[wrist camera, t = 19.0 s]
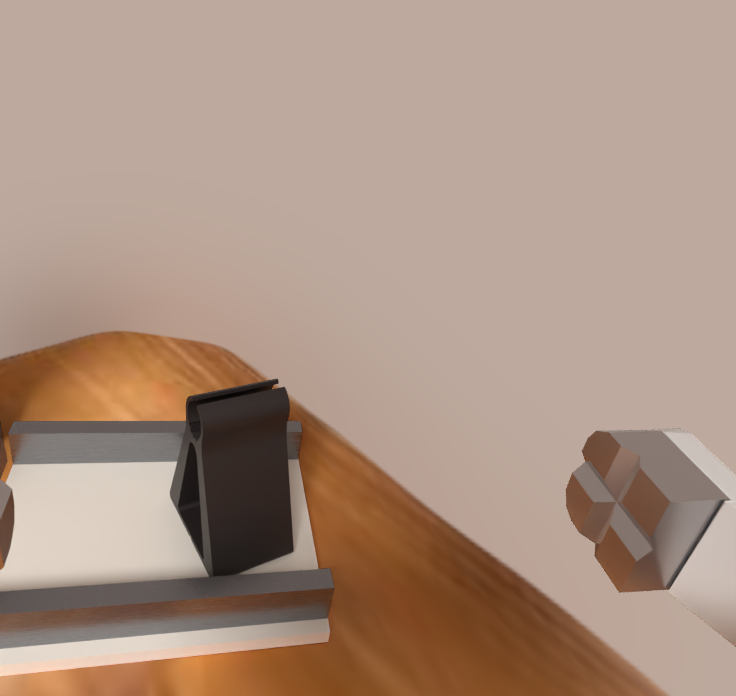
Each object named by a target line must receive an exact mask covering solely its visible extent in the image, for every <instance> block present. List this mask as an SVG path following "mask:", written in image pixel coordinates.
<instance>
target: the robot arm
mask: <svg viewBox="0 0 736 696" xmlns="http://www.w3.org/2000/svg"><path fill="white" fill-rule="evenodd" d="M582 453H583V456H584V459H585V463H583V464H582V465H581V466H580V467H579V468H578V469H576V470H575V471H574V472H573V473H572V475H571V478H570V480H569V483H568V485H567V488H566V506H567V509H568V512H569V515H570V518H571V521H572V522H573V524H574V525H575V527H576V528H577V530H578V531H579V533H581V534H582V535H584V536H585V537H587V538H588V539H589V540H591V541H592V542H594V543H595V544H596V545H595V557H596V559H597V560H598V562H599V563H600V564H601V566H602V568H603V569H604V571H605V572H606V573H607V575H608V576H609V578H610V579H611V581H612V582H613V584H614V585H615V587H616V588H617V590H618V591H619V592H637V591H653V590H668V589H669V591H668V593H669V594H670V595H672V596H673V597H674V598H675V599H677V600H678V601H679V602H680V603H682V604H683V605H684V606H685V607H687V608H688V609H689V610H690V611H692V612H693V613H694V614H695V615H697V616H698V617H699V618H700V619H702V620H703V621H704V622H705V623H707V624H708V625H709V626H710V627H712V628H713V629H714V630H715V631H717V632H718V633H719V634H720V635H722V636H723V637H724V638H725V639H727V640H728V641H729V642H730V643H732V644H733V645H734V646H735V647H736V475H735V474H734V473H733V472H732V471H731V470H730V469H728V467H727V466H726V465H724V464H723V463H722V462H721V461H720V460H719V459H718V458H717V457H716V456H715V455H714V454H713V453H712V452H711V451H710V450H708V449H707V448H706V447H705V446H704V445H703V444H702V443H701V442H700V441H699V440H698V439H697V438H696V437H694V435H692V434H691V433H689V432H687V431H685V430H682V429H680V428H676V429H675V428H674V429H652V430H624V431H623V430H621V431H620V430H619V431H596V432H594V433H593V434H592V435H591V436H590V437H589V438H588V439H587V441H586V443H585V446H584V448H583V450H582ZM6 463H7V456H6V451H5V447H4V442H3V439H2V438H1V437H0V478H1V476H2V473H3V471H4V468H5V466H6ZM13 529H14V498H13V492H12V488H10V487H9V486H8V485H7V484H5V483H4V482H3V481H2V480H0V570H1V569H2V568H4V565H5V562H6V559H7V556H8V553H9V550H10V547H11V541H12V535H13Z"/></svg>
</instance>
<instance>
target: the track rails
mask: <svg viewBox="0 0 736 696" xmlns="http://www.w3.org/2000/svg"><path fill="white" fill-rule="evenodd" d="M185 428H186V421H14V422H13V424H12V426H11V429H10V431H9V433H8V435H9V442H10V448H11V454H12V461H13V465H19V464H73V463H127V462H177V461H178V457H179V453H180V449H181V444H182V440H183V436H184V432H185ZM301 438H302V428H301V423H300V421H287V450H288V460H289V459H298V458H299V452H300V445H301ZM333 591H334V584H333V579H332V574H331V570H330V568H328V569H314V570H299V571H285V572H271V573H257V574H242V575H228V576H214V577H200V578H185V579H171V580H157V581H143V582H128V583H114V584H100V585H86V586H71V587H57V588H43V589H29V590H14V591H0V649H5V648H16V647H27V646H37V645H48V644H59V643H69V642H80V641H91V640H101V639H112V638H123V637H133V636H144V635H155V634H166V633H176V632H187V631H198V630H208V629H219V628H230V627H240V626H251V625H262V624H272V623H283V622H294V621H304V620H315V619H326V618H328V615H329V610H330V605H331V601H332V596H333Z"/></svg>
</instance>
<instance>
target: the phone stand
mask: <svg viewBox="0 0 736 696" xmlns="http://www.w3.org/2000/svg"><path fill="white" fill-rule="evenodd" d="M274 384H278V379H273V380H268V381H263V382H258V383H253V384H248V385H243V386H238V387H233V388H228V389H223V390H218V391H213V392H208V393H203V394H198V395H193V396H189V397H188V398H187V401H186V428H185V432H184V436H183V440H182V444H181V449H180V453H179V457H178V461H177V465H176V469H175V473H174V477H173V481H172V485H171V489H170V498H171V500H172V502H173V504H174V506H175V508H176V510H177V512H178V514H179V516H180V518H181V520H182V522H183V524H184V526H185V528H186V531H187V533H188V535H189V536H190V537H191V541H192V543H193V545H194V547H195V549H196V551H197V553H198V555H199V557H200V559H201V561H202V563H203V565H204V567H205V569H206V571H207V573H208V575H209V577H214V576H228V575H236V574H238V573H241V572H243V571H246V570H249V569H251V568H254V567H256V566H259V565H262V564H264V563H267V562H269V561H272V560H275V559H277V558H280V557H282V556H285V555H287V554H290V553H293V551H294V547H293V531H292V515H291V499H290V483H289V466H288V450H287V421H288V417H289V412H290V406H289V398H288V395H287V391H286V389H285V387H282V388H277V389H272V387H273V385H274Z"/></svg>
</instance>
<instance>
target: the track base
mask: <svg viewBox="0 0 736 696" xmlns="http://www.w3.org/2000/svg"><path fill="white" fill-rule="evenodd" d="M176 465H177V462H127V463H73V464H19V465H13V466H12V469H11V471H10V474H9V476H8V479H7V481H6V484H7V485H8V486H9V487H10V488H12V492H13V498H14V529H13V535H12V541H11V547H10V550H9V553H8V556H7V559H6V562H5V565H4V568H2V569H1V570H0V591H14V590H29V589H43V588H57V587H71V586H86V585H100V584H114V583H128V582H143V581H157V580H171V579H185V578H200V577H209V575H208V573H207V571H206V569H205V567H204V565H203V563H202V561H201V559H200V557H199V555H198V553H197V551H196V549H195V547H194V545H193V543H192V541H191V537H190V536H189V535H188V533H187V531H186V528H185V526H184V524H183V522H182V520H181V518H180V516H179V514H178V512H177V510H176V508H175V506H174V504H173V502H172V500H171V498H170V489H171V485H172V481H173V477H174V473H175V469H176ZM288 466H289V483H290V499H291V515H292V531H293V547H294V551H293V553H290V554H287V555H285V556H282V557H280V558H277V559H275V560H272V561H269V562H267V563H264V564H262V565H259V566H256V567H254V568H251V569H249V570H246V571H243V572H241V573H238V574H236V575H242V574H257V573H271V572H285V571H299V570H314V569H319V568H318V563H317V558H316V552H315V547H314V541H313V536H312V530H311V525H310V520H309V514H308V509H307V503H306V498H305V493H304V487H303V482H302V476H301V471H300V466H299V460H298V459H289V460H288ZM329 636H330V628H329V622H328V618H326V619H315V620H304V621H294V622H283V623H272V624H262V625H251V626H240V627H230V628H219V629H208V630H198V631H187V632H176V633H166V634H155V635H144V636H133V637H123V638H112V639H101V640H91V641H80V642H69V643H59V644H48V645H37V646H27V647H16V648H5V649H0V676H7V675H17V674H26V673H36V672H46V671H55V670H65V669H74V668H84V667H93V666H103V665H112V664H122V663H131V662H141V661H151V660H160V659H170V658H179V657H189V656H198V655H208V654H217V653H227V652H237V651H246V650H256V649H265V648H275V647H284V646H294V645H303V644H313V643H322V642H328V640H329Z"/></svg>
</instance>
